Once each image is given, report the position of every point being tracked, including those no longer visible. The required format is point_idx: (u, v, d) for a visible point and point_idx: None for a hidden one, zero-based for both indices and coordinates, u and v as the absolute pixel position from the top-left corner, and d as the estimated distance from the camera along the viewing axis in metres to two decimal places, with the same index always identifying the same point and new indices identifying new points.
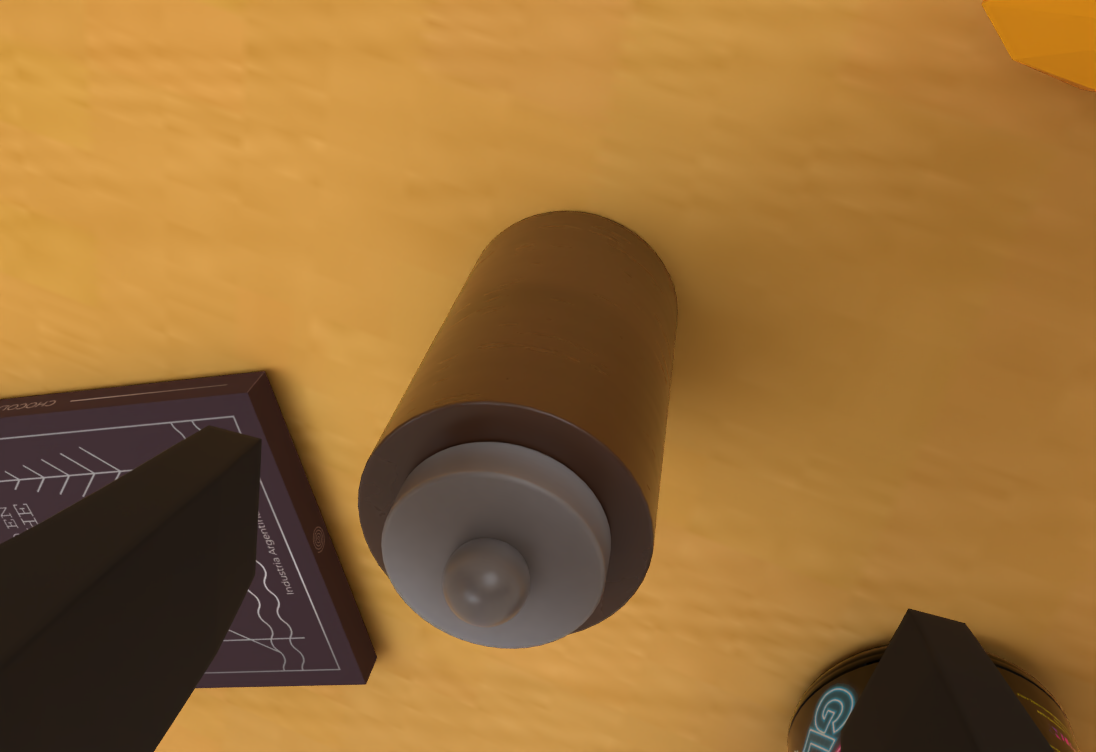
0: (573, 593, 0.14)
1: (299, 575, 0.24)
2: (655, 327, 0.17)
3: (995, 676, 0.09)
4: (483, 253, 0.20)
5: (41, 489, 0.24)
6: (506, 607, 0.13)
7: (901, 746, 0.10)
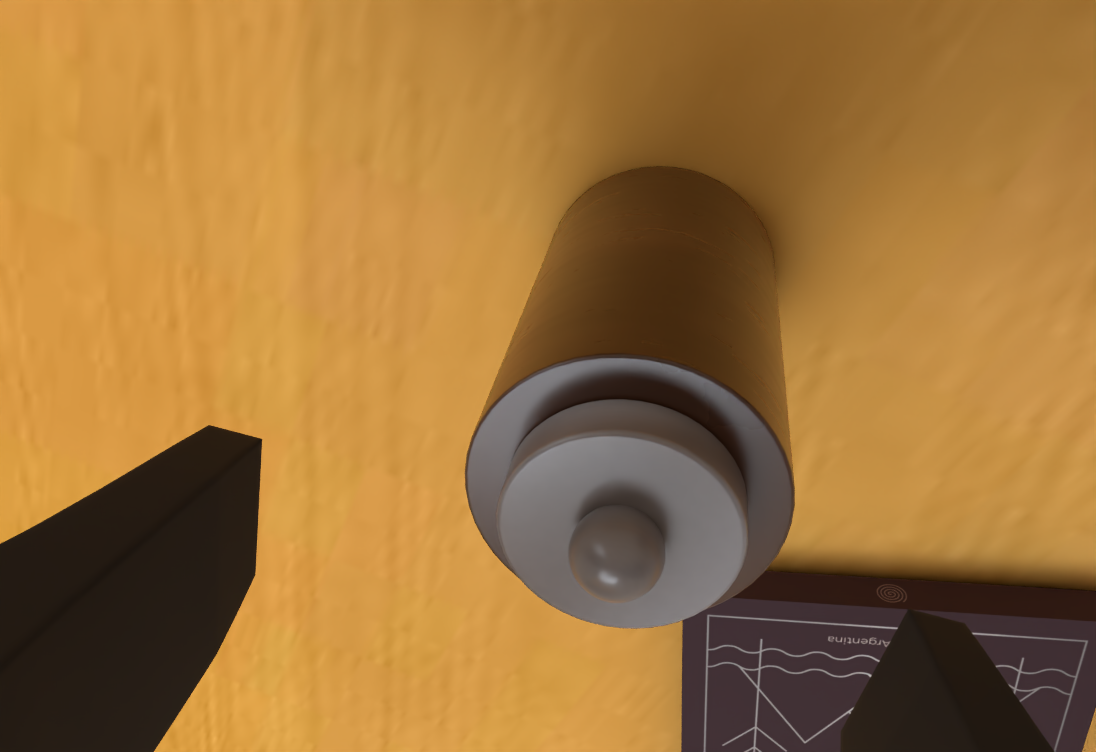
0: (662, 471, 0.12)
1: None
2: (602, 227, 0.16)
3: (995, 676, 0.09)
4: None
5: None
6: (618, 554, 0.12)
7: (901, 746, 0.10)
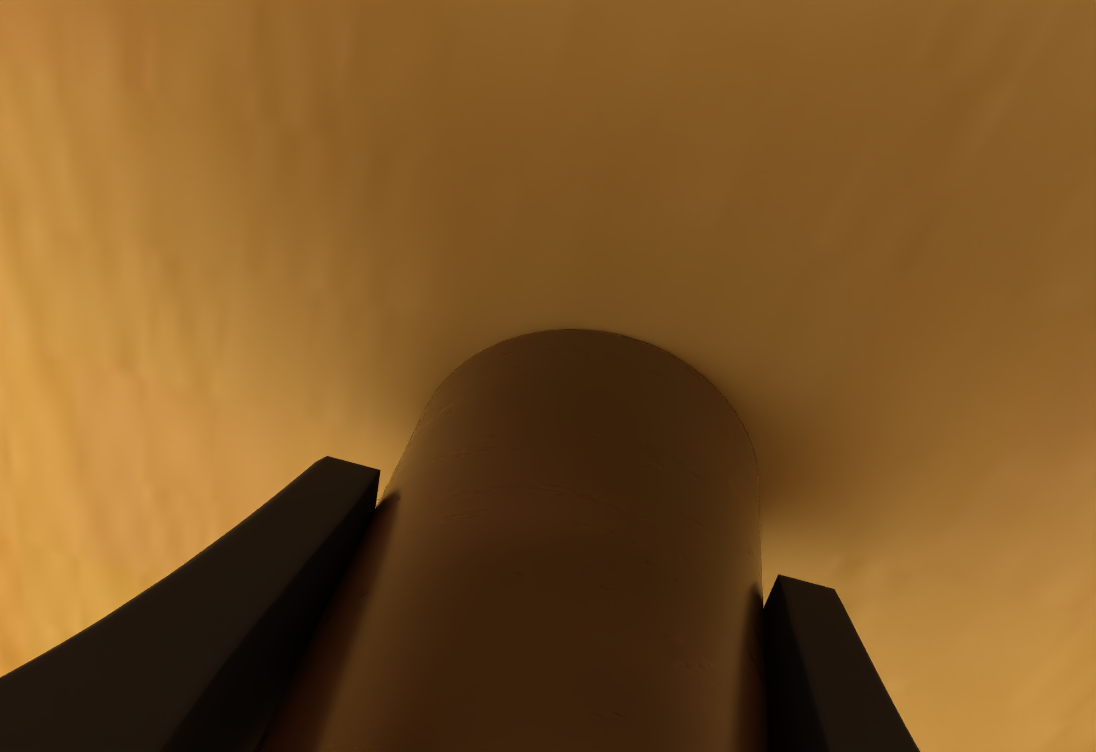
0: None
1: None
2: (431, 478, 0.09)
3: (852, 638, 0.09)
4: None
5: None
6: None
7: None
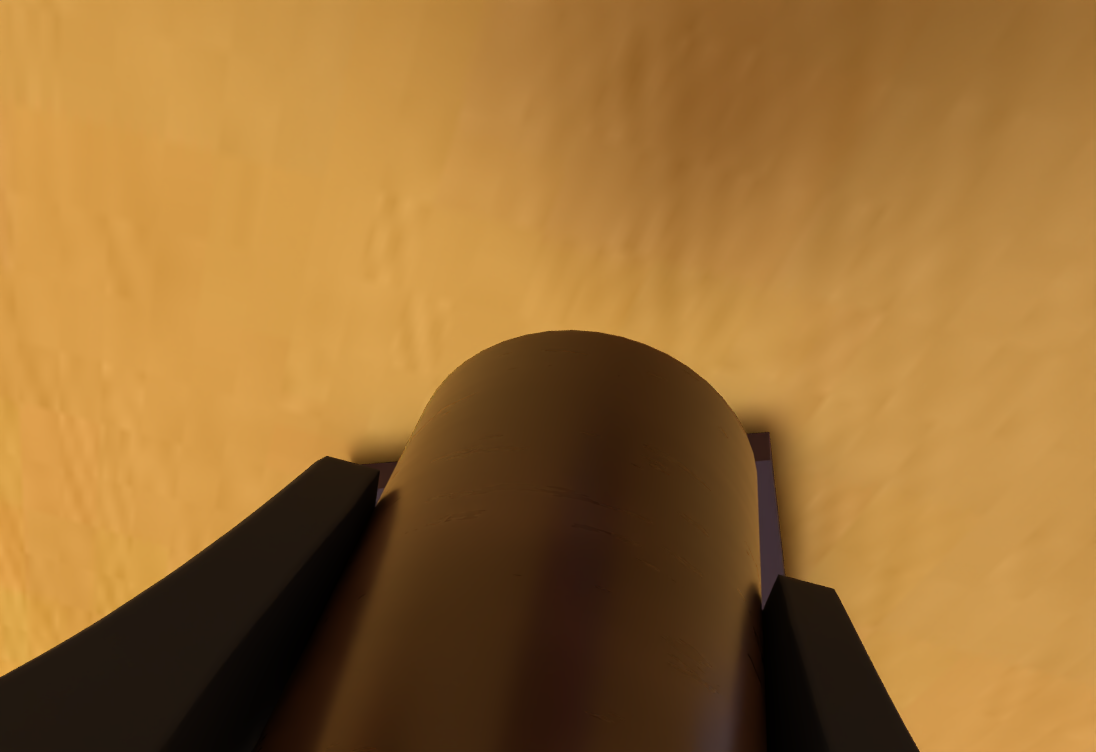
0: None
1: None
2: (430, 478, 0.09)
3: (851, 638, 0.09)
4: None
5: None
6: None
7: None
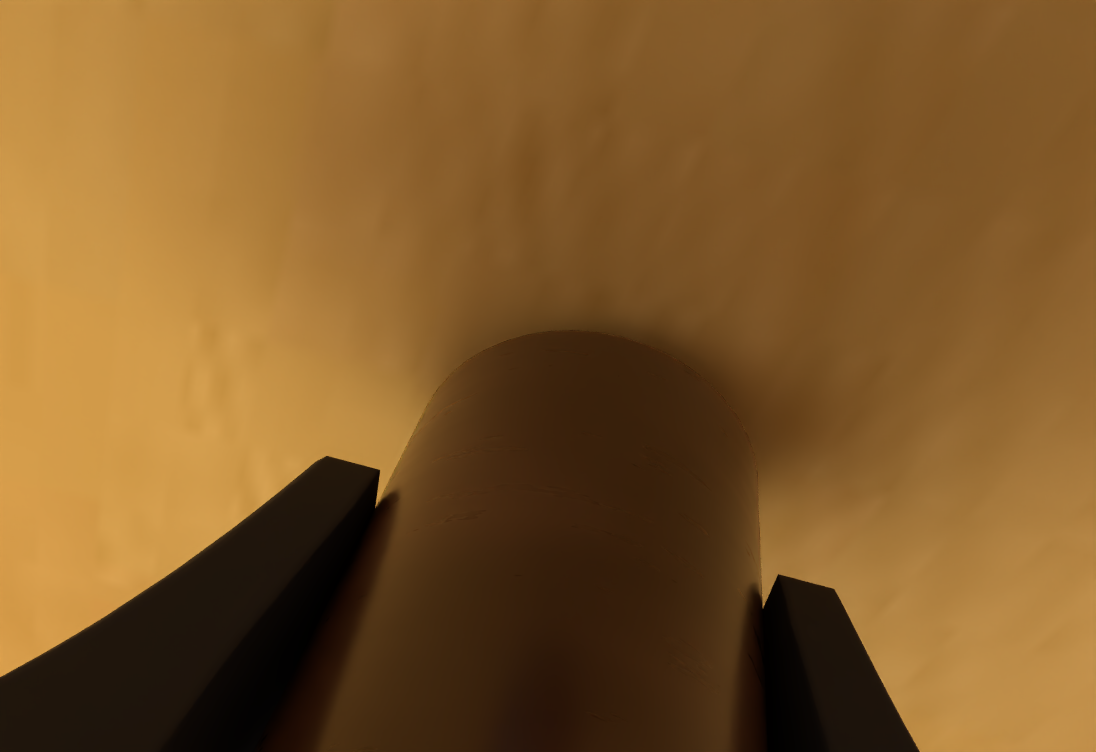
0: None
1: None
2: (430, 479, 0.09)
3: (851, 638, 0.09)
4: None
5: None
6: None
7: None
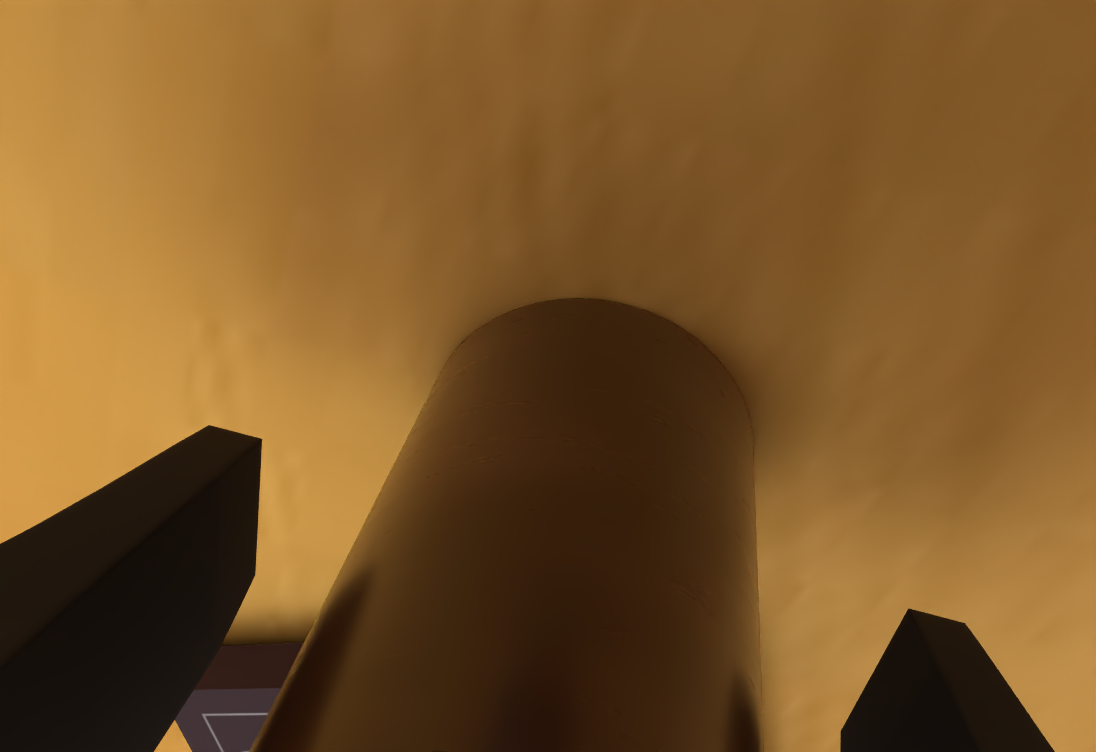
0: None
1: None
2: (448, 430, 0.10)
3: (995, 676, 0.09)
4: None
5: None
6: None
7: (901, 746, 0.10)
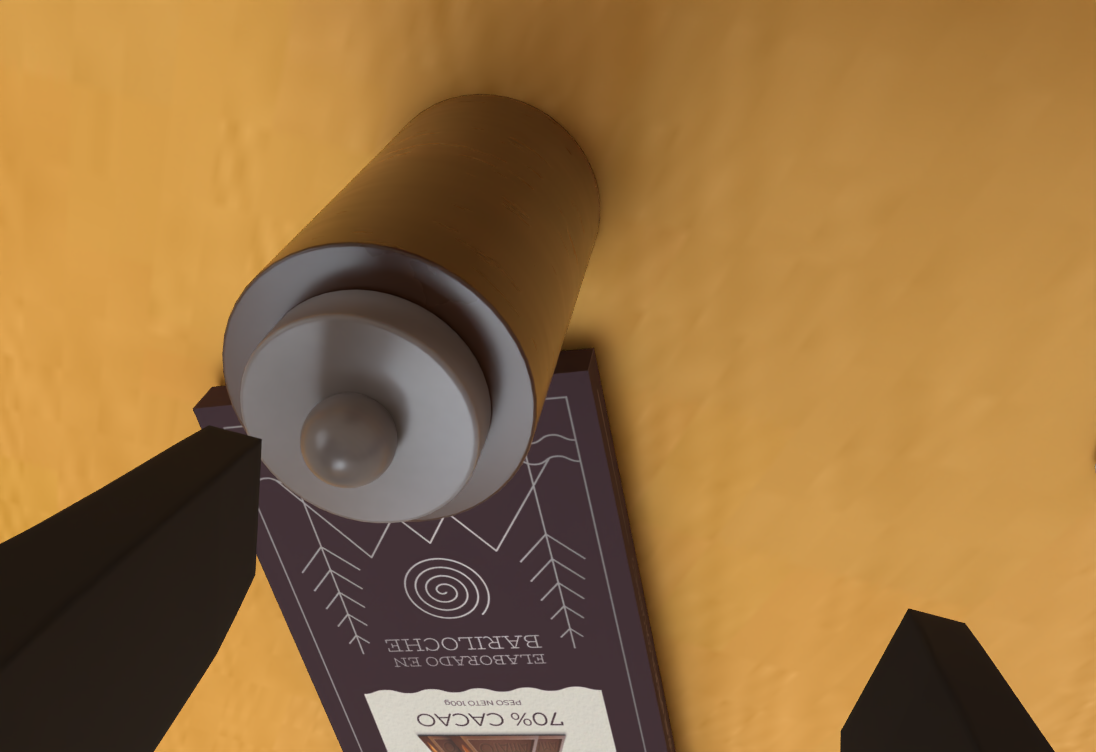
0: (372, 350, 0.12)
1: None
2: (384, 152, 0.16)
3: (995, 676, 0.09)
4: None
5: (363, 621, 0.24)
6: (333, 435, 0.12)
7: (901, 746, 0.10)
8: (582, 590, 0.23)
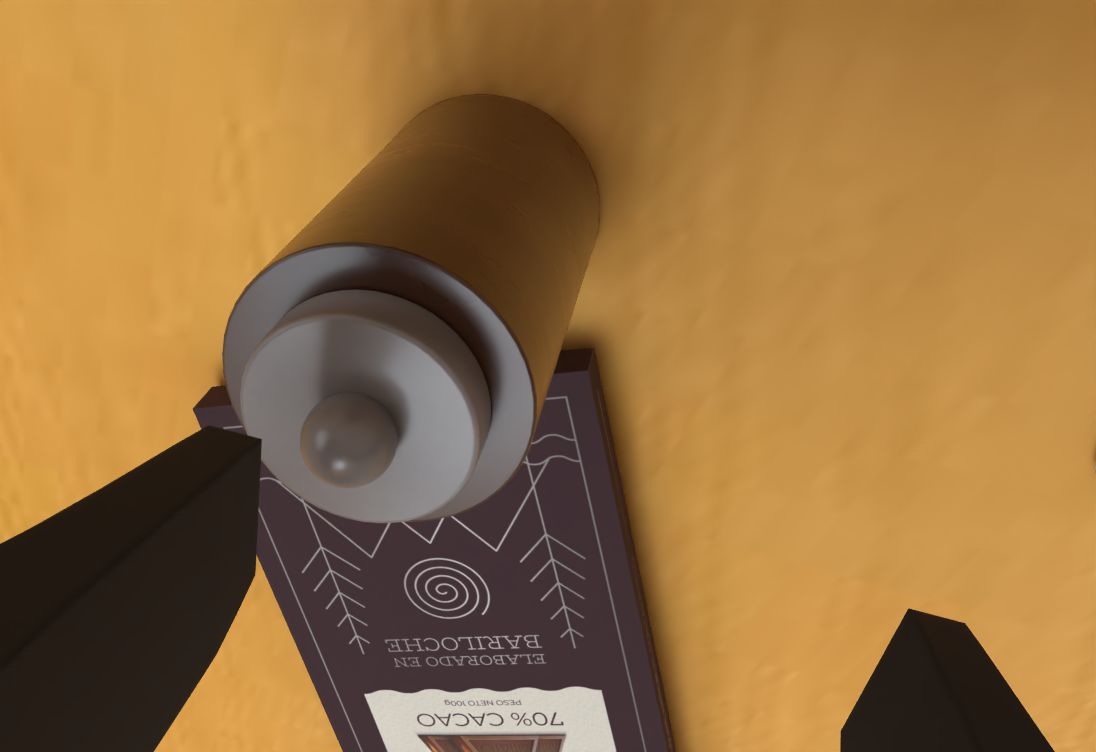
0: (372, 350, 0.12)
1: None
2: (384, 152, 0.16)
3: (995, 676, 0.09)
4: None
5: (363, 621, 0.24)
6: (333, 435, 0.12)
7: (901, 746, 0.10)
8: (582, 590, 0.23)
